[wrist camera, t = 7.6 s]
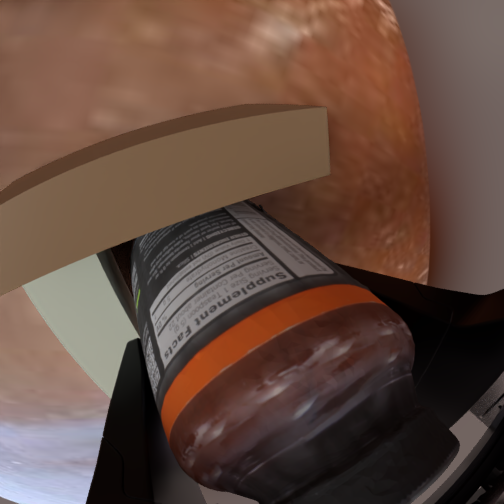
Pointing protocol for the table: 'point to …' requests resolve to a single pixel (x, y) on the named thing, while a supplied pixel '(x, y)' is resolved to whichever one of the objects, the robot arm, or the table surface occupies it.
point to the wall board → (140, 211)
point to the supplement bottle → (279, 367)
